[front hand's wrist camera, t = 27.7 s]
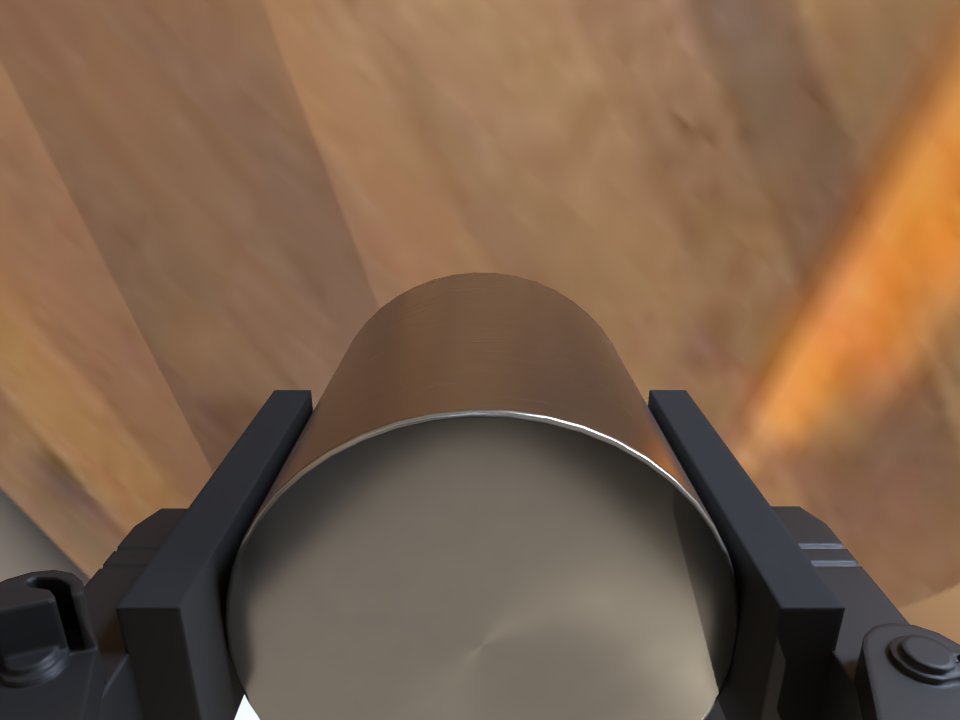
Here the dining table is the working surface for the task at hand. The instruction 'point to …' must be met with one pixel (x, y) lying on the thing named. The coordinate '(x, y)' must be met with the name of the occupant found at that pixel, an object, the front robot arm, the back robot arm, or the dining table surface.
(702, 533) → the can
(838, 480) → the dining table surface
